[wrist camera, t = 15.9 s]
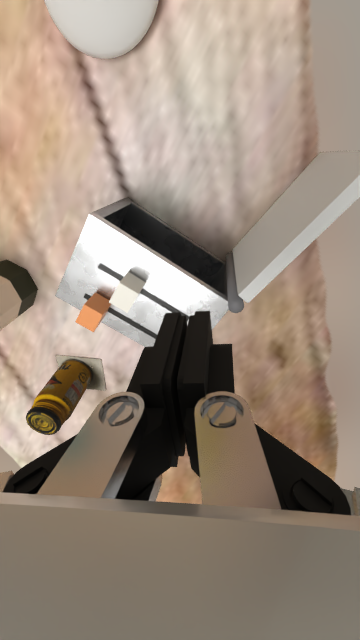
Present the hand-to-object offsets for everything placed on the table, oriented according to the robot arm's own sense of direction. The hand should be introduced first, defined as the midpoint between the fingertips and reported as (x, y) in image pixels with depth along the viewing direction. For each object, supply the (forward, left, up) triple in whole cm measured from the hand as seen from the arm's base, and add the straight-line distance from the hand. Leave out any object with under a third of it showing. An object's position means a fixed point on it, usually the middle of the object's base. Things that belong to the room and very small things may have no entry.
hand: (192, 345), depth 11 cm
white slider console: (+2, +9, -29) cm, 30 cm away
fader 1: (+6, +12, -17) cm, 21 cm away
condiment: (+4, +36, -29) cm, 46 cm away
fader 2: (+4, +8, -17) cm, 19 cm away
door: (-6, -4, -29) cm, 30 cm away
